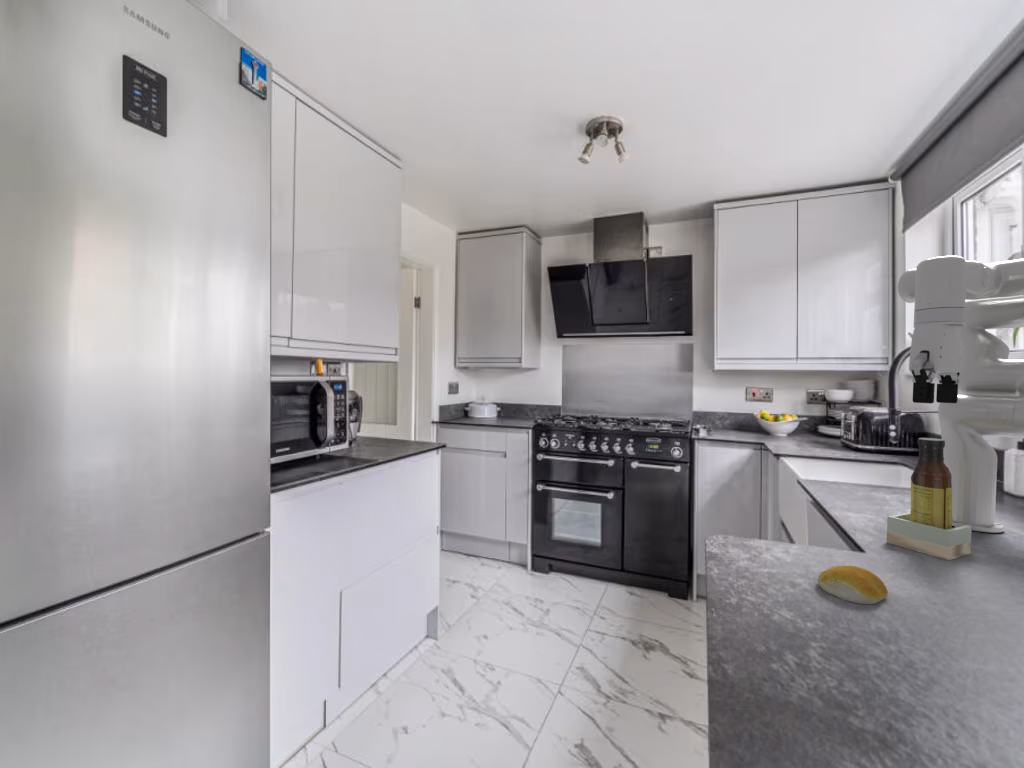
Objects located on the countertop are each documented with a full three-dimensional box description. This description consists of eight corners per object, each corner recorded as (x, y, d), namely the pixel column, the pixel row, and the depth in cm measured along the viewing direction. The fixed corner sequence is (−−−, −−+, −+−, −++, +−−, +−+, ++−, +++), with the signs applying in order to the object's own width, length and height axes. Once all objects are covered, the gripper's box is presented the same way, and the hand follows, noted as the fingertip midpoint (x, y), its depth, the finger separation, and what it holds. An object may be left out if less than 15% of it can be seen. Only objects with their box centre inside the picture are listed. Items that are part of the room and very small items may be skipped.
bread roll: (893, 596, 70) (894, 571, 70) (871, 611, 65) (873, 584, 65) (832, 576, 77) (833, 553, 77) (808, 588, 72) (809, 563, 72)
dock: (908, 537, 98) (909, 512, 98) (970, 553, 89) (971, 526, 89) (886, 542, 94) (887, 516, 94) (948, 560, 85) (950, 531, 85)
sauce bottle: (934, 530, 95) (937, 437, 94) (960, 541, 88) (964, 441, 88) (900, 528, 95) (904, 436, 95) (924, 539, 89) (928, 440, 89)
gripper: (935, 324, 98) (932, 401, 98) (893, 317, 91) (890, 401, 91) (982, 320, 91) (979, 404, 92) (941, 313, 84) (938, 404, 84)
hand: (935, 402), depth 91 cm, fingers open, 9 cm apart
